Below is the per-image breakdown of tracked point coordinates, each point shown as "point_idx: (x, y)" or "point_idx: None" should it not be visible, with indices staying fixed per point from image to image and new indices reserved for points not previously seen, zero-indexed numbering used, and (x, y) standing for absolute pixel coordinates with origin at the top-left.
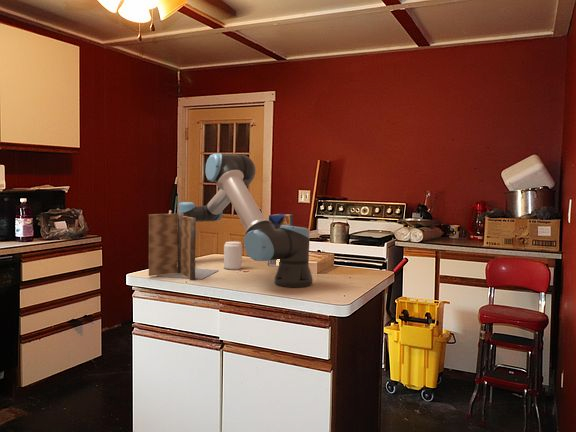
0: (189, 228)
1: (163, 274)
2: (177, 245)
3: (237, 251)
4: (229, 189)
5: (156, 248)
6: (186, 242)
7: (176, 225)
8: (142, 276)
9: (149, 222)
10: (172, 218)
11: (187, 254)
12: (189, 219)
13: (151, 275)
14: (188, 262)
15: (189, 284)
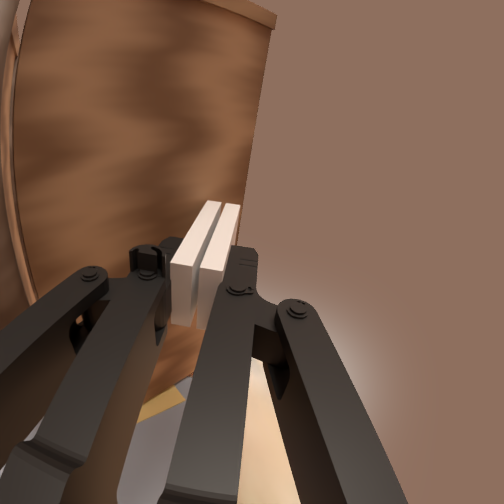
0: (8, 100)
1: (160, 394)
2: (28, 305)
3: None
4: None
5: None
6: (8, 198)
7: (26, 80)
8: (258, 374)
9: (258, 63)
10: (84, 7)
11: (20, 257)
12: (17, 50)
13: None
14: (29, 285)
15: None
